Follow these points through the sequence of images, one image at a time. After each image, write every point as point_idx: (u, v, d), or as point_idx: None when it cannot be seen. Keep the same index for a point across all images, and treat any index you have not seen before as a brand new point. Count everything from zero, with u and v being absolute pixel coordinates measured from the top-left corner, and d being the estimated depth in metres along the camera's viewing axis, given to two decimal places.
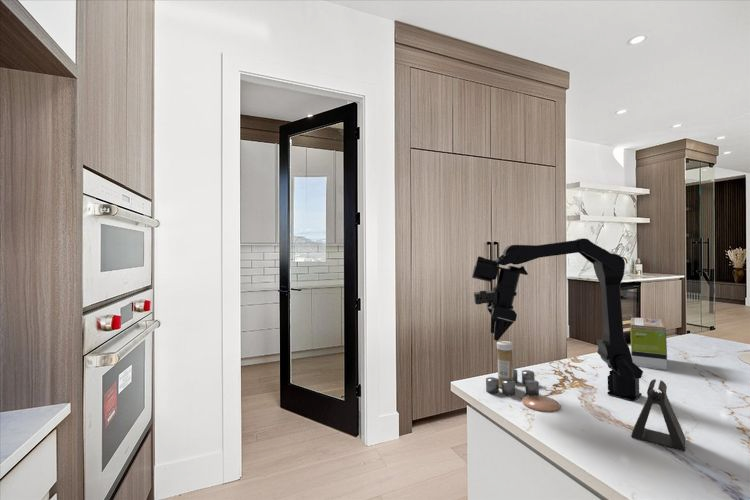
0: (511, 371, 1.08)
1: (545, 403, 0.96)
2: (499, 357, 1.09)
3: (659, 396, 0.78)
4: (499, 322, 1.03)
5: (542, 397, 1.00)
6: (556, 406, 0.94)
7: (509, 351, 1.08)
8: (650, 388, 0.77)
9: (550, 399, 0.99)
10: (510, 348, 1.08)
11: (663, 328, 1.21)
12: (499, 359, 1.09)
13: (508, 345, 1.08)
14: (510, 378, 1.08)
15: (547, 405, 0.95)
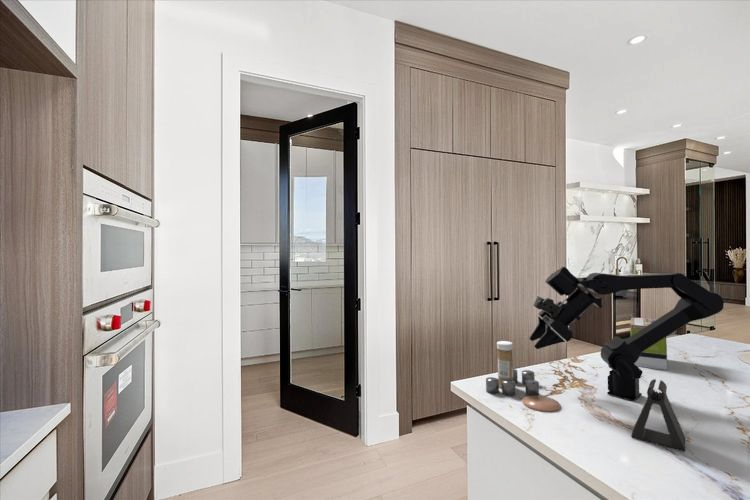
0: (511, 371, 1.08)
1: (545, 403, 0.96)
2: (499, 357, 1.09)
3: (659, 396, 0.78)
4: (549, 334, 1.01)
5: (542, 397, 1.00)
6: (556, 406, 0.94)
7: (509, 351, 1.08)
8: (650, 388, 0.77)
9: (550, 399, 0.99)
10: (510, 348, 1.08)
11: None
12: (499, 359, 1.09)
13: (508, 345, 1.08)
14: (510, 378, 1.08)
15: (547, 405, 0.95)
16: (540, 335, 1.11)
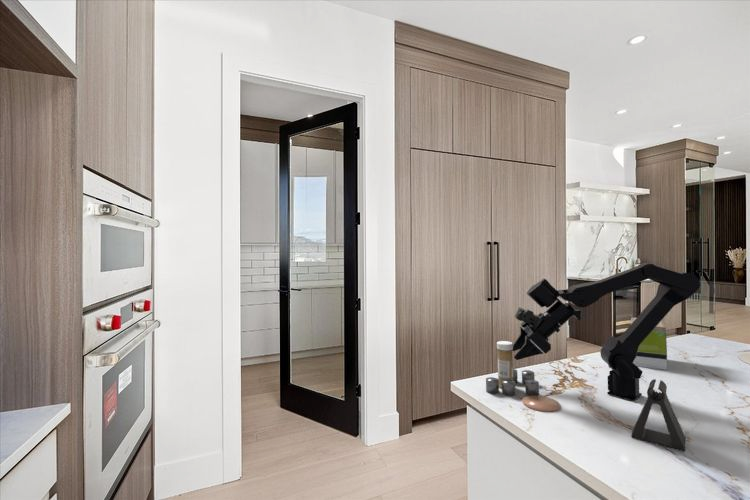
0: (511, 371, 1.08)
1: (545, 403, 0.96)
2: (499, 357, 1.09)
3: (659, 396, 0.78)
4: (529, 346, 1.03)
5: (542, 397, 1.00)
6: (556, 406, 0.94)
7: (509, 351, 1.08)
8: (650, 388, 0.77)
9: (550, 399, 0.99)
10: (510, 348, 1.08)
11: (663, 328, 1.21)
12: (499, 359, 1.09)
13: (508, 345, 1.08)
14: (510, 378, 1.08)
15: (547, 405, 0.95)
16: (521, 345, 1.13)
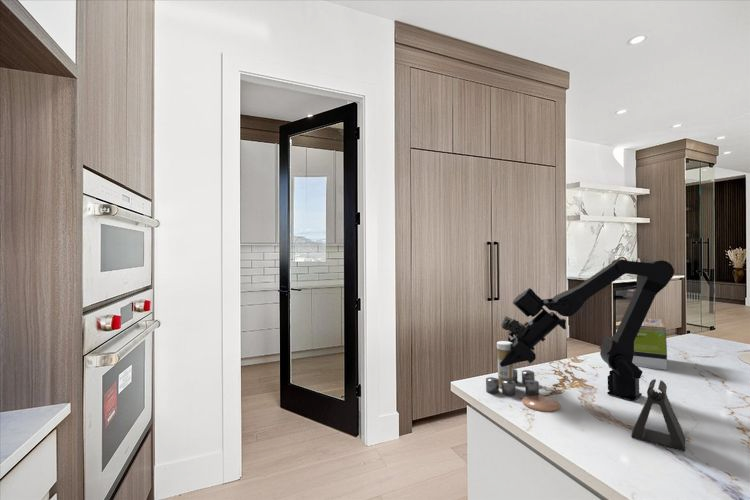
0: (511, 371, 1.08)
1: (545, 403, 0.96)
2: (499, 357, 1.09)
3: (659, 396, 0.78)
4: (513, 353, 1.06)
5: (542, 397, 1.00)
6: (556, 406, 0.94)
7: None
8: (650, 388, 0.77)
9: (550, 399, 0.99)
10: None
11: (663, 328, 1.21)
12: (499, 359, 1.09)
13: (508, 345, 1.08)
14: (510, 378, 1.08)
15: (547, 405, 0.95)
16: None
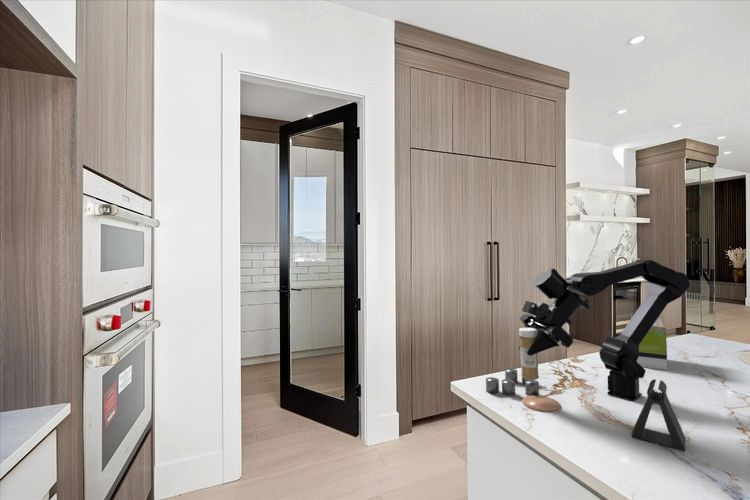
0: (537, 359, 0.99)
1: (545, 403, 0.96)
2: (524, 345, 0.99)
3: (659, 396, 0.78)
4: (542, 339, 0.97)
5: (542, 397, 1.00)
6: (556, 406, 0.94)
7: (535, 338, 0.99)
8: (650, 388, 0.77)
9: (550, 399, 0.99)
10: (536, 334, 0.99)
11: (663, 328, 1.21)
12: (524, 348, 0.99)
13: (534, 331, 0.98)
14: (536, 367, 0.99)
15: (547, 405, 0.95)
16: None
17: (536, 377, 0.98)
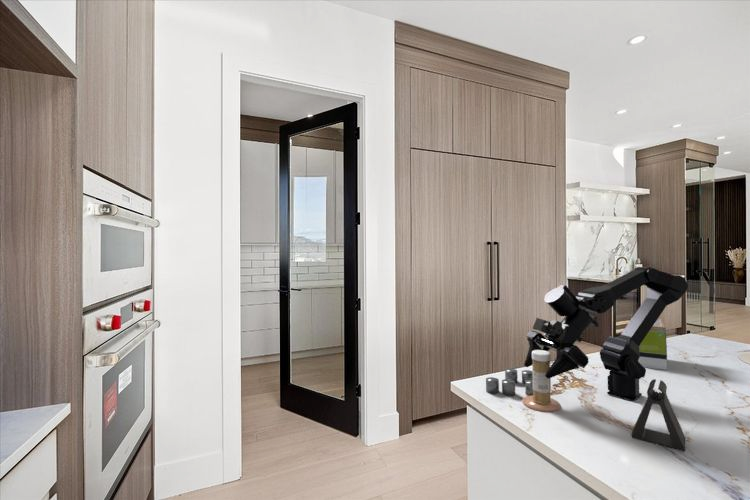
0: (550, 383, 0.96)
1: None
2: (538, 369, 0.95)
3: (659, 396, 0.78)
4: (561, 361, 0.92)
5: None
6: (556, 406, 0.94)
7: (549, 361, 0.95)
8: (650, 388, 0.77)
9: (550, 399, 0.99)
10: (550, 358, 0.95)
11: (663, 328, 1.21)
12: (538, 372, 0.95)
13: (548, 355, 0.95)
14: (549, 391, 0.96)
15: (547, 405, 0.95)
16: None
17: (549, 402, 0.95)
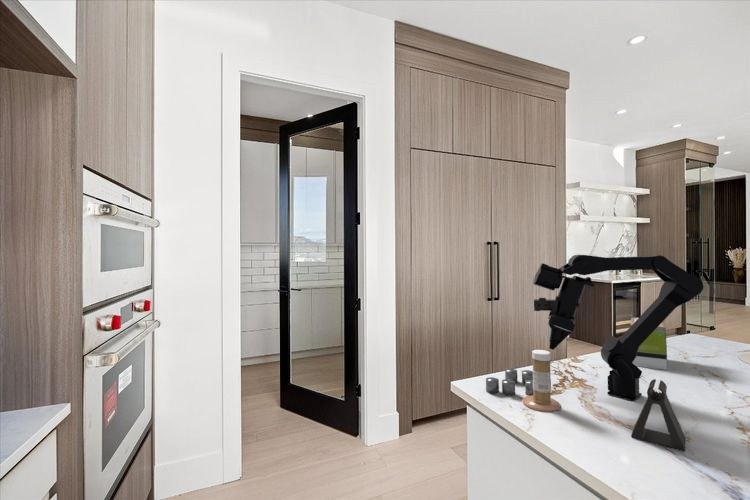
0: (550, 383, 0.96)
1: None
2: (538, 369, 0.96)
3: (659, 396, 0.78)
4: (556, 331, 1.02)
5: None
6: (556, 406, 0.94)
7: (549, 361, 0.96)
8: (650, 388, 0.77)
9: None
10: (550, 358, 0.96)
11: (663, 328, 1.21)
12: (538, 371, 0.96)
13: (549, 354, 0.95)
14: (549, 391, 0.96)
15: (547, 405, 0.95)
16: None
17: (549, 402, 0.95)
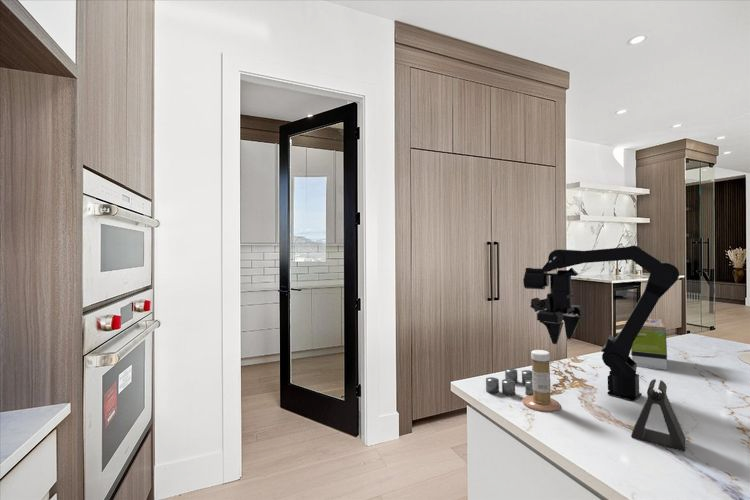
0: (549, 383, 0.96)
1: None
2: (537, 369, 0.96)
3: (659, 396, 0.78)
4: (551, 326, 1.08)
5: None
6: (556, 406, 0.94)
7: (548, 361, 0.95)
8: (650, 388, 0.77)
9: (550, 399, 0.99)
10: (549, 358, 0.96)
11: (663, 328, 1.21)
12: (537, 372, 0.96)
13: (548, 355, 0.95)
14: (549, 391, 0.96)
15: (547, 405, 0.95)
16: (571, 329, 1.13)
17: (549, 402, 0.95)
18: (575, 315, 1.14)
